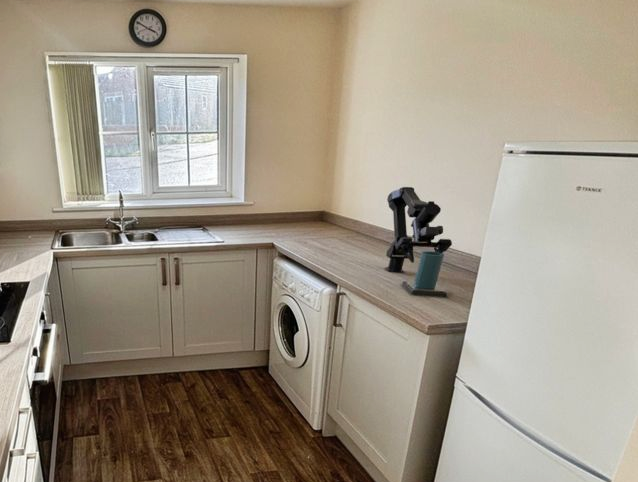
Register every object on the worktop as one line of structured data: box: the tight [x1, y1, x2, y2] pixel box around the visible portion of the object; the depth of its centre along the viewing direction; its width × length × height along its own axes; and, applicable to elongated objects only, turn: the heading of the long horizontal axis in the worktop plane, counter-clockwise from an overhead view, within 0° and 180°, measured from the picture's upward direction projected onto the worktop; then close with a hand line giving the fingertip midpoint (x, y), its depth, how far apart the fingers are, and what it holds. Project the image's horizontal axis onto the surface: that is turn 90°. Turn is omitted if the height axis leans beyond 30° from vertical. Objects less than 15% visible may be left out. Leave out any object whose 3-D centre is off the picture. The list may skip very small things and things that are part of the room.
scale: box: [401, 280, 448, 298], centre depth 181 cm, size 14×12×2 cm
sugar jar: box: [413, 250, 445, 288], centre depth 178 cm, size 7×7×13 cm
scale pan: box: [406, 280, 447, 293], centre depth 180 cm, size 11×11×1 cm
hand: (425, 262), depth 181 cm, fingers open, 9 cm apart
